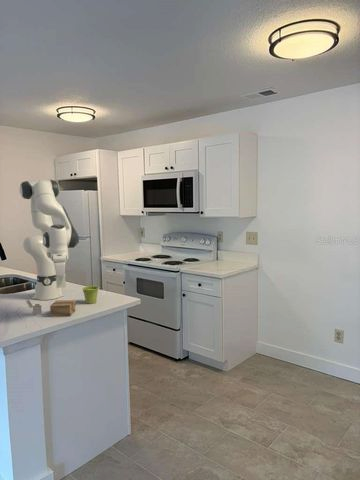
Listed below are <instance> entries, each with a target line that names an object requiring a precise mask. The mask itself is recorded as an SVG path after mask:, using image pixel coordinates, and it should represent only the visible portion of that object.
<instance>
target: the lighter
mask: <svg viewBox="0 0 360 480" xmlns="http://www.w3.org/2000/svg"><path fill="white" fill-rule="evenodd" d="M25 303H26V304H27V305H28V307H29V309H31V308H32V316H35V315H42V313H43V311H42V305H41V304H40V303H35V304H34V305H33V303H32V302H31V301H30V299H27V300H26V301H25Z"/></svg>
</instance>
